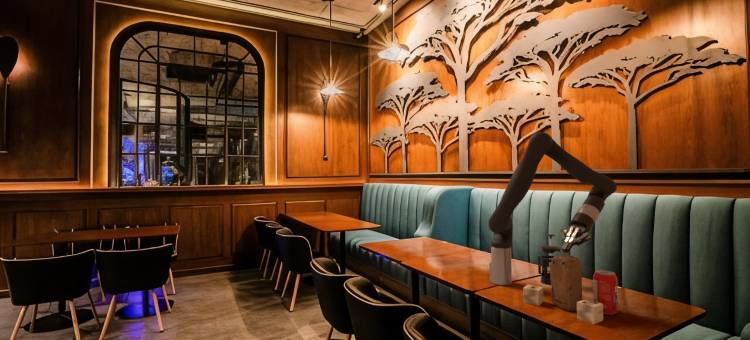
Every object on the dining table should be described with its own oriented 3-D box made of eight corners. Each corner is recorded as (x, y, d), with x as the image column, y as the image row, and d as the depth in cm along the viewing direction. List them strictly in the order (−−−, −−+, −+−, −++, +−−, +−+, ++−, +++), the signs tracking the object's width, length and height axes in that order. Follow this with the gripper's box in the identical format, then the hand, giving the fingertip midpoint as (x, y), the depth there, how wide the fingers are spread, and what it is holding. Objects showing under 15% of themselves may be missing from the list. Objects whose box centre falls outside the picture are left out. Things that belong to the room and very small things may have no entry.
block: (584, 310, 140) (583, 258, 140) (568, 313, 138) (567, 259, 138) (562, 301, 150) (562, 252, 150) (547, 303, 148) (546, 253, 148)
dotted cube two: (576, 318, 133) (576, 301, 133) (586, 315, 136) (585, 298, 136) (594, 324, 128) (593, 306, 128) (603, 320, 131) (602, 303, 131)
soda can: (588, 310, 141) (588, 270, 141) (602, 306, 144) (601, 268, 144) (608, 317, 133) (608, 275, 134) (623, 313, 136) (622, 273, 137)
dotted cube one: (523, 302, 150) (523, 287, 150) (528, 298, 154) (527, 283, 154) (538, 306, 146) (538, 290, 146) (543, 301, 150) (543, 286, 150)
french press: (568, 283, 174) (567, 235, 174) (555, 287, 169) (555, 237, 169) (545, 277, 184) (544, 231, 184) (533, 280, 179) (532, 233, 179)
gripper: (566, 210, 154) (545, 242, 149) (596, 213, 142) (575, 248, 137) (574, 222, 157) (554, 253, 151) (605, 226, 145) (584, 260, 139)
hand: (564, 251), depth 144 cm, fingers closed
